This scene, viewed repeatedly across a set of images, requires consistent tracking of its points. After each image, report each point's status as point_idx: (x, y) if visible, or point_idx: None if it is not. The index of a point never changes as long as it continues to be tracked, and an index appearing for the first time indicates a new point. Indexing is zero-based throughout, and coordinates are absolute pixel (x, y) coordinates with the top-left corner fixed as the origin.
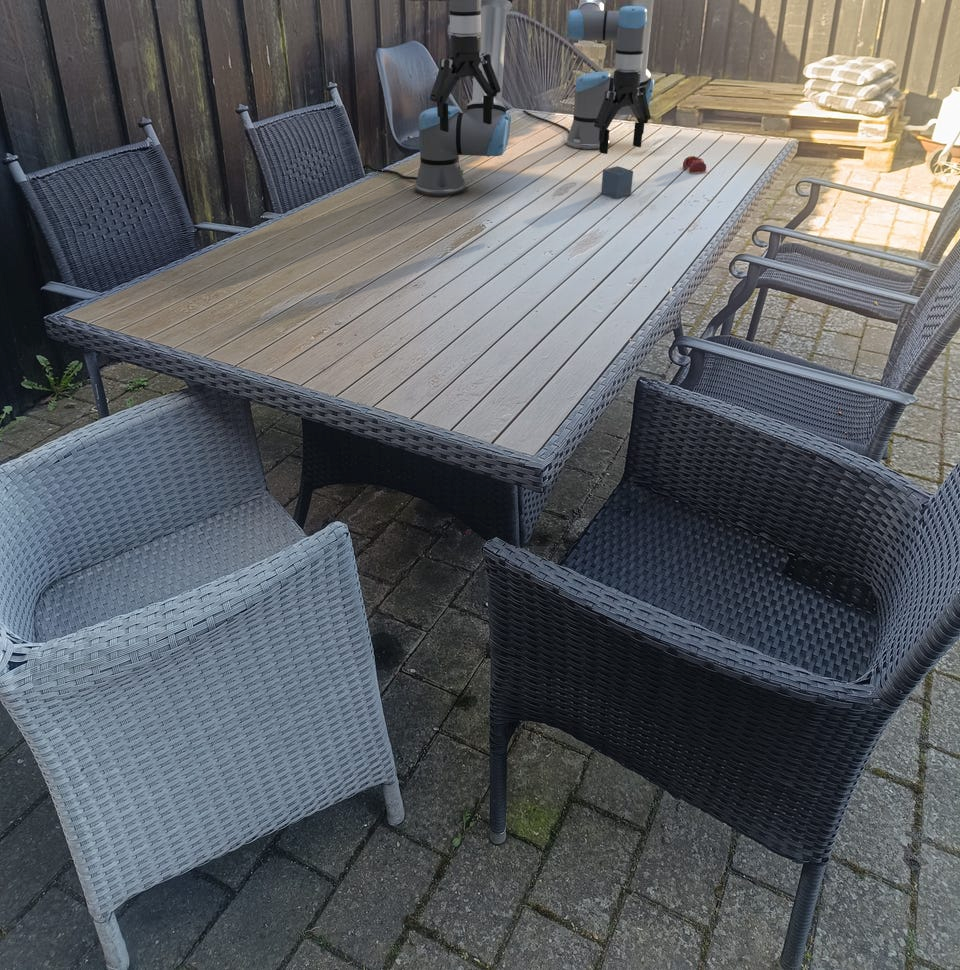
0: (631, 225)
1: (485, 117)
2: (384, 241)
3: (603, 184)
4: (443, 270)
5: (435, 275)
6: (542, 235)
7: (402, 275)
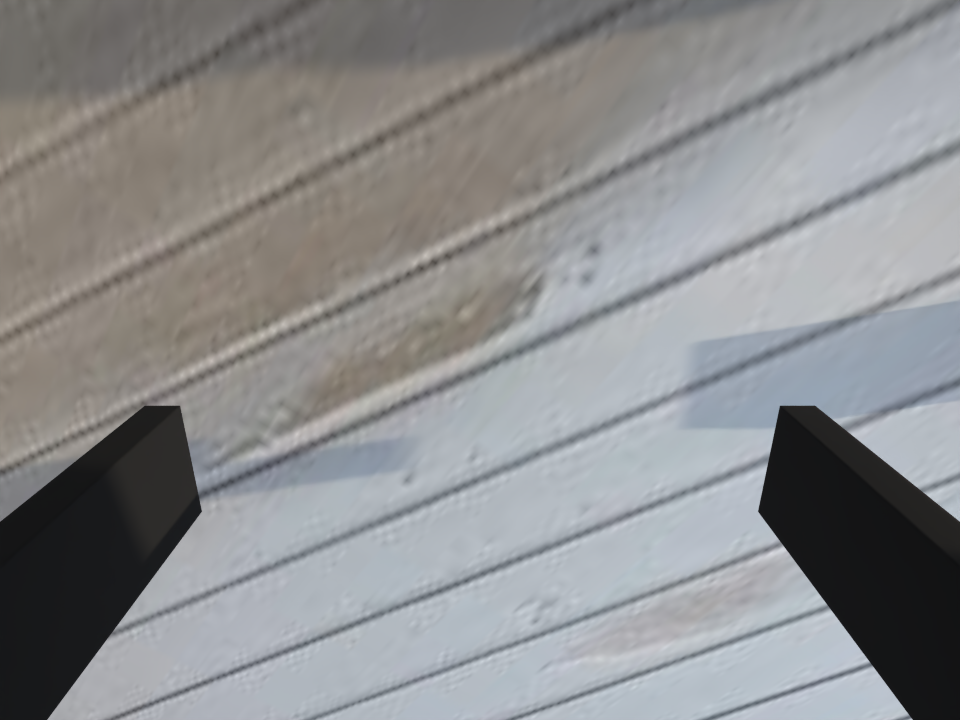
0: None
1: (803, 484)
2: (80, 203)
3: None
4: (177, 546)
5: None
6: (636, 493)
7: None
